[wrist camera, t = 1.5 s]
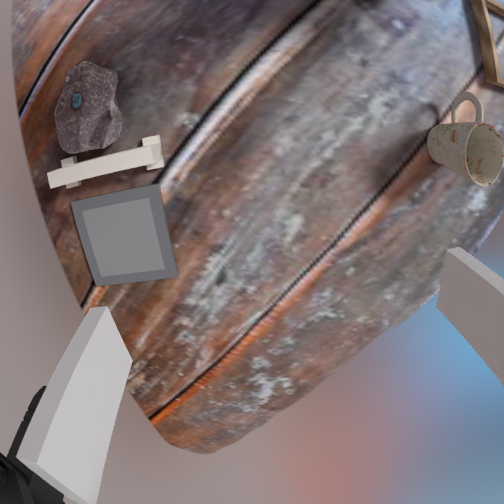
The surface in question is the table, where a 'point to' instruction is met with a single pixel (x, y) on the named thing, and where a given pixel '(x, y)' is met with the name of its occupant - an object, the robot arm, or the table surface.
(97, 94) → the rock
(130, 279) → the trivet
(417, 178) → the table surface
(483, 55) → the wooden frame
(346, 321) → the table surface
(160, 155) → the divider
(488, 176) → the mug
